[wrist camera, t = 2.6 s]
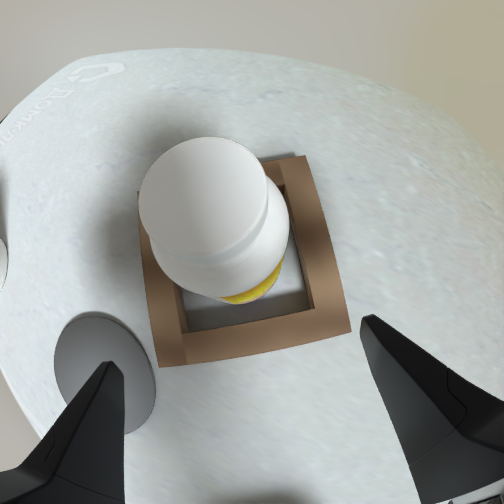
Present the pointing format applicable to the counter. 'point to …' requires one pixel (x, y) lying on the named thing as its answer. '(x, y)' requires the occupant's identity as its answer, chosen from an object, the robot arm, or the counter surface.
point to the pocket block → (267, 330)
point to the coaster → (104, 349)
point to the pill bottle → (3, 263)
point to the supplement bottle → (215, 219)
